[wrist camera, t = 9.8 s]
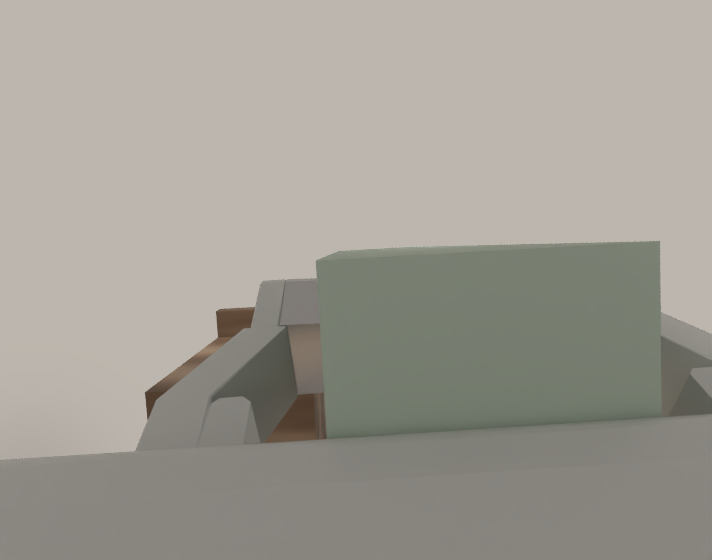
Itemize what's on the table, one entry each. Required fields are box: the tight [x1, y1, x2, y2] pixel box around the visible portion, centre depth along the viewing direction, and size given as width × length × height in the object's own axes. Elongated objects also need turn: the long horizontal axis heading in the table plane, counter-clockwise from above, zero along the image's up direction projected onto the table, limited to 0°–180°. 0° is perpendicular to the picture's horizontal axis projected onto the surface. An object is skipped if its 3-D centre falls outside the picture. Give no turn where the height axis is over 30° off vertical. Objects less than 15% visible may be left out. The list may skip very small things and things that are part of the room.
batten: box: [316, 241, 662, 439], centre depth 15 cm, size 20×4×3 cm, turn 1°
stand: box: [145, 307, 327, 443], centre depth 37 cm, size 19×14×30 cm
